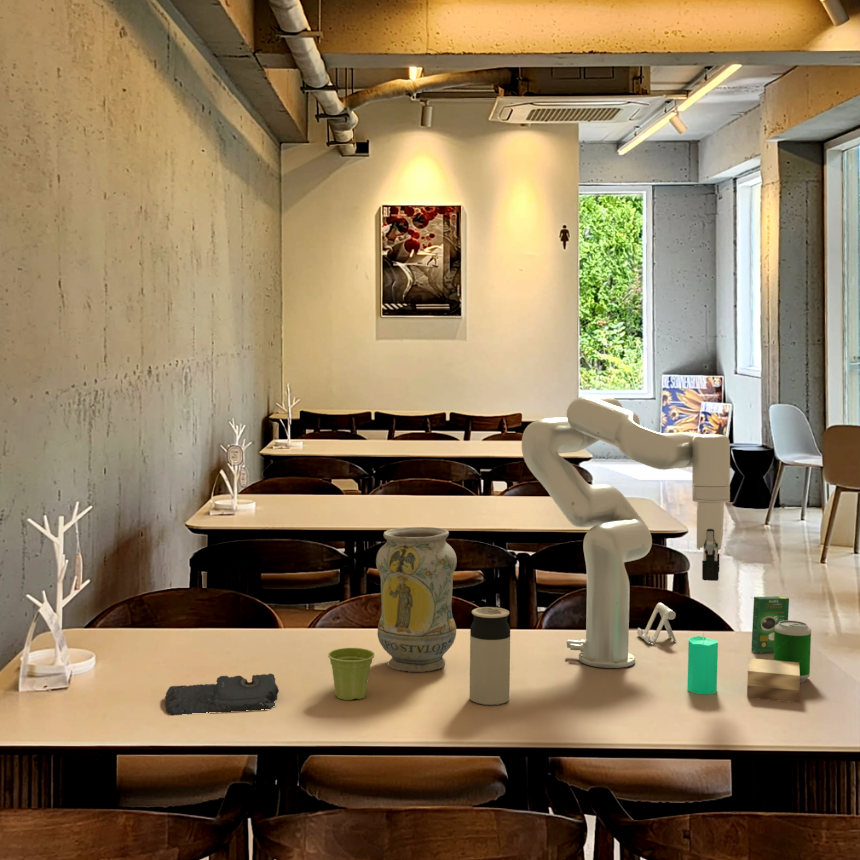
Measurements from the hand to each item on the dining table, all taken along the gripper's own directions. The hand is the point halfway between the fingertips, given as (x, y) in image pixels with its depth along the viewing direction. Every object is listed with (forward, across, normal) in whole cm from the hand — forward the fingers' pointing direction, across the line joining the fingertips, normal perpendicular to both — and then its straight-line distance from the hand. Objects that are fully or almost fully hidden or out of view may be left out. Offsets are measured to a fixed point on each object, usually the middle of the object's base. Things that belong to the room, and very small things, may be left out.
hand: (710, 576), depth 227 cm
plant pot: (+22, +28, -70) cm, 78 cm away
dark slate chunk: (+22, +38, -93) cm, 103 cm away
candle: (+24, +2, -2) cm, 24 cm away
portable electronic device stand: (+23, -36, -13) cm, 45 cm away
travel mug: (+23, +22, -42) cm, 53 cm away
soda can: (+24, -12, +16) cm, 32 cm away
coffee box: (+24, -33, +12) cm, 43 cm away
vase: (+22, +2, -64) cm, 68 cm away
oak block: (+21, 0, +12) cm, 25 cm away
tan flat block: (+24, 0, +12) cm, 27 cm away
